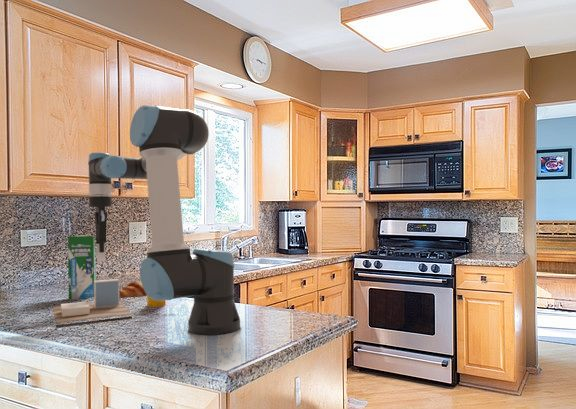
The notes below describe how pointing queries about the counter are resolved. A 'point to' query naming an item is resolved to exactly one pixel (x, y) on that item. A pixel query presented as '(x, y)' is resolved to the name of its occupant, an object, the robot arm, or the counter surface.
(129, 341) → the counter surface
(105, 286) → the tile
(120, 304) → the board
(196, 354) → the counter surface
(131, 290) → the croissant
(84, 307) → the tile
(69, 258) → the milk carton
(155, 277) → the robot arm
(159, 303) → the beer can
